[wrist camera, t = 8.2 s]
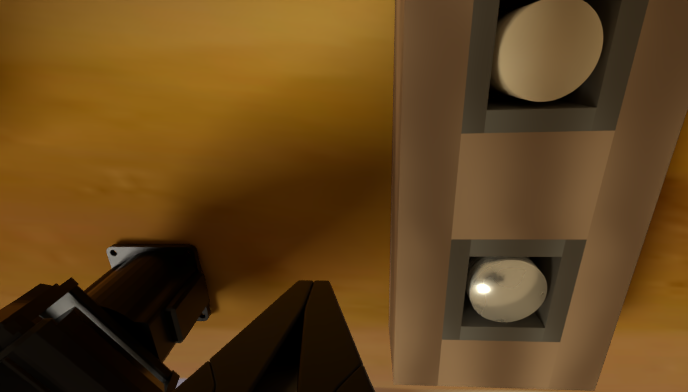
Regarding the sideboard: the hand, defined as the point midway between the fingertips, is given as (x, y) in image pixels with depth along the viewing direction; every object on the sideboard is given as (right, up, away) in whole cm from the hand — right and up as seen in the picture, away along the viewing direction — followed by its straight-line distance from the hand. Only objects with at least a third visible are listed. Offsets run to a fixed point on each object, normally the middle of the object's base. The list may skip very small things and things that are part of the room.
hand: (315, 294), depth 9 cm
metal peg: (+10, -1, +14) cm, 17 cm away
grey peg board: (+10, +5, +11) cm, 16 cm away
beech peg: (+10, +10, +9) cm, 17 cm away
